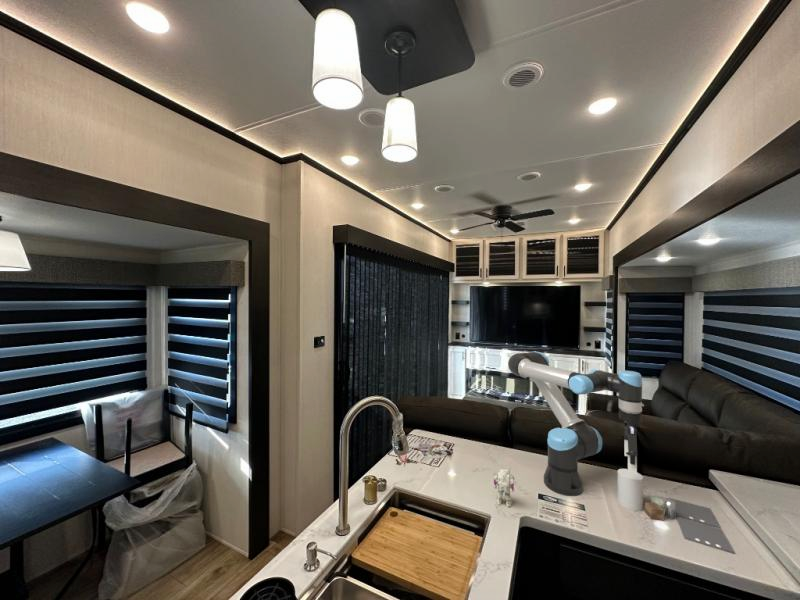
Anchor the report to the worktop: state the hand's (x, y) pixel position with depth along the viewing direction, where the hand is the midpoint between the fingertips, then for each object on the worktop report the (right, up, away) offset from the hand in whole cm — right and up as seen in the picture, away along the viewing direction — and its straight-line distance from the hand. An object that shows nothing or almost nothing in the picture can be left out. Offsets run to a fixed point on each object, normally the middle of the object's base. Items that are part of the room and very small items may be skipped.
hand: (630, 463), depth 124 cm
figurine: (-50, -16, +1) cm, 53 cm away
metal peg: (+10, -16, -7) cm, 20 cm away
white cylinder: (0, -16, 0) cm, 16 cm away
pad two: (+20, -16, -5) cm, 26 cm away
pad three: (+13, -16, -16) cm, 26 cm away
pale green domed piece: (+10, -16, -1) cm, 19 cm away
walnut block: (+4, -16, -7) cm, 18 cm away
